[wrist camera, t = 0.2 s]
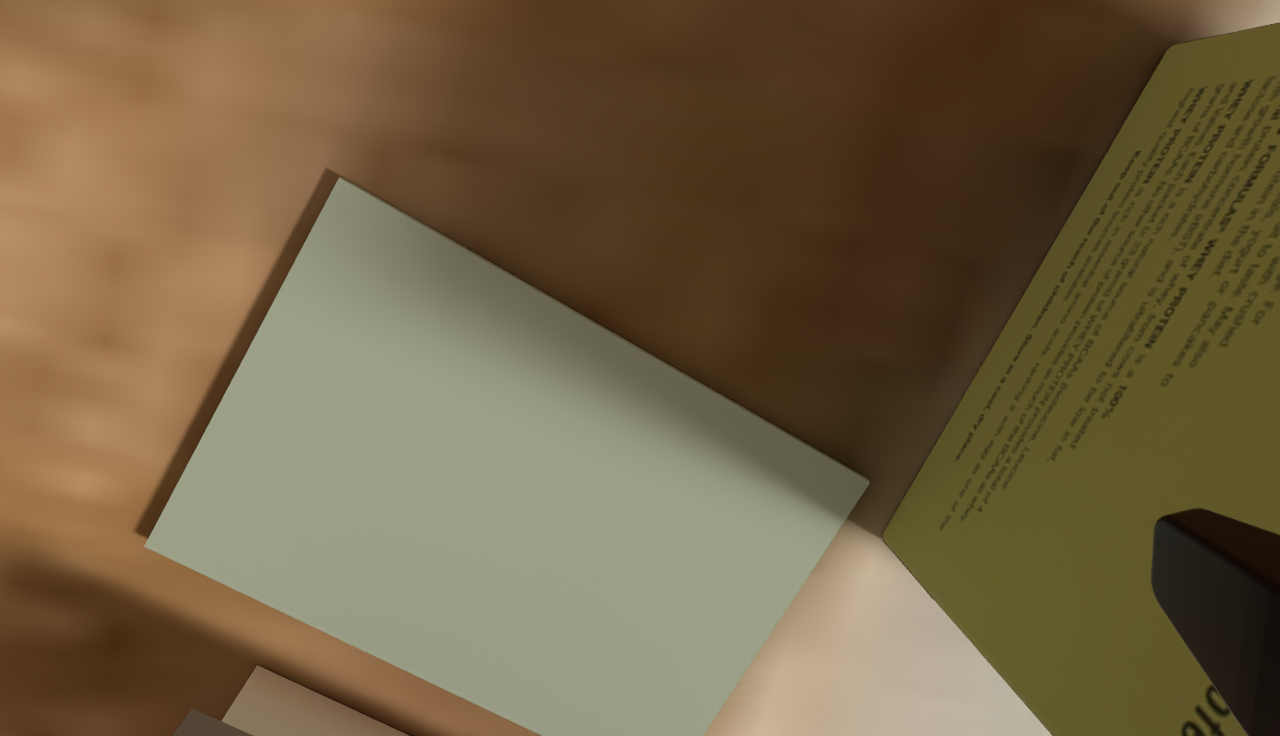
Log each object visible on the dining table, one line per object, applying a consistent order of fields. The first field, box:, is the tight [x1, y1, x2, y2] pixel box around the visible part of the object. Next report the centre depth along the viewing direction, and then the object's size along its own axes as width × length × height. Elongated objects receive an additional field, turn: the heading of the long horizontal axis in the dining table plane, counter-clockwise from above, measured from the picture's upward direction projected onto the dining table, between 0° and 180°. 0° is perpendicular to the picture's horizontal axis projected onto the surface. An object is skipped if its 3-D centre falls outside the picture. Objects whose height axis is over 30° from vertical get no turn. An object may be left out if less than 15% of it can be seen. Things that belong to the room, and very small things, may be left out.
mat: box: [144, 177, 870, 736], centre depth 24 cm, size 11×16×1 cm
